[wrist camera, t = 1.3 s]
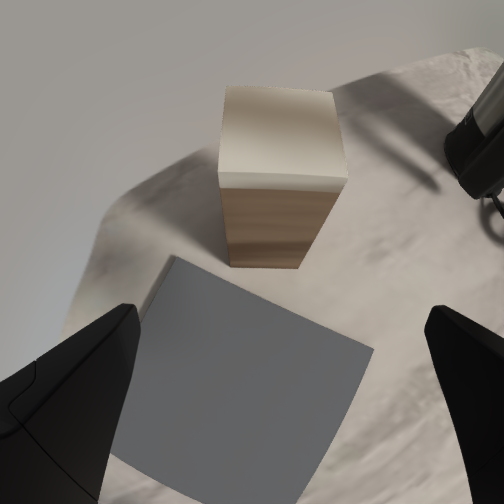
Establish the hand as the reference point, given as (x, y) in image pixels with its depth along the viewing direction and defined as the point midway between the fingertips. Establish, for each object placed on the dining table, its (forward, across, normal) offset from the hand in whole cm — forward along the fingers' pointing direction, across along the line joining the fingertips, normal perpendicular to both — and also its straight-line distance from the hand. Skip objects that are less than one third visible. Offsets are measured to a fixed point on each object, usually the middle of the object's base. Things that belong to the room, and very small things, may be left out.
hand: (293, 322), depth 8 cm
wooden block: (+15, 0, +4) cm, 16 cm away
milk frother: (+20, -26, 0) cm, 33 cm away
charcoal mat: (+6, +3, +13) cm, 15 cm away
